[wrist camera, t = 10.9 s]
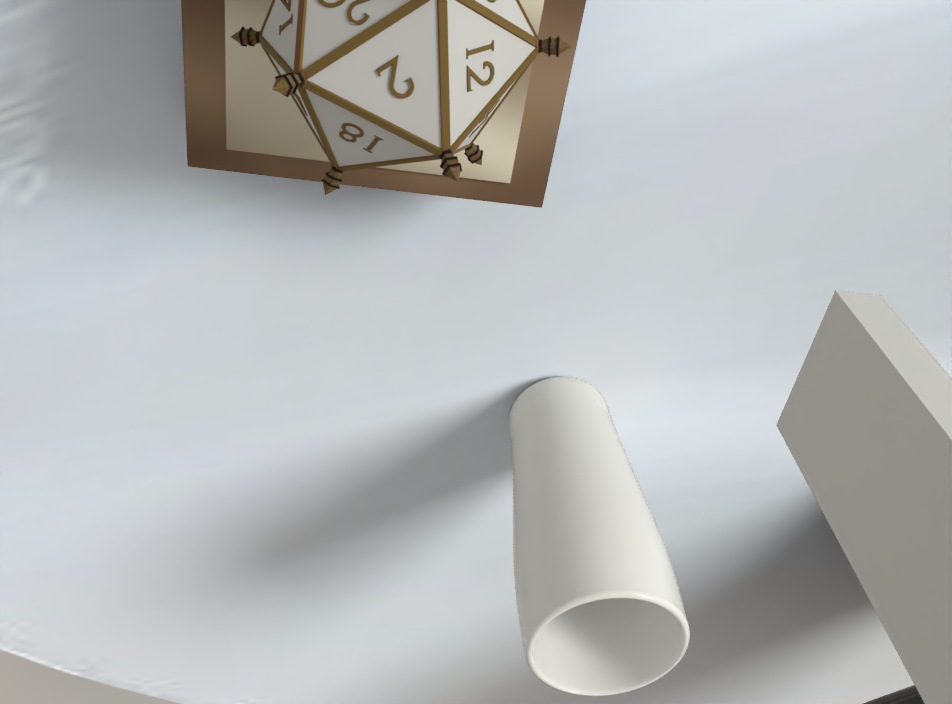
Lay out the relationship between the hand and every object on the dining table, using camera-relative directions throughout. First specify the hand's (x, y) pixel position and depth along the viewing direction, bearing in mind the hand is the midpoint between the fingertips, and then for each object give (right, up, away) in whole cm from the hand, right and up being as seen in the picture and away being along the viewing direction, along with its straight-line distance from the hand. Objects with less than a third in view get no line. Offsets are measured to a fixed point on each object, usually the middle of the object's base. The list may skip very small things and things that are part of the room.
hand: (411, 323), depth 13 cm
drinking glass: (+5, -3, +33) cm, 34 cm away
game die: (-2, +11, +15) cm, 19 cm away
